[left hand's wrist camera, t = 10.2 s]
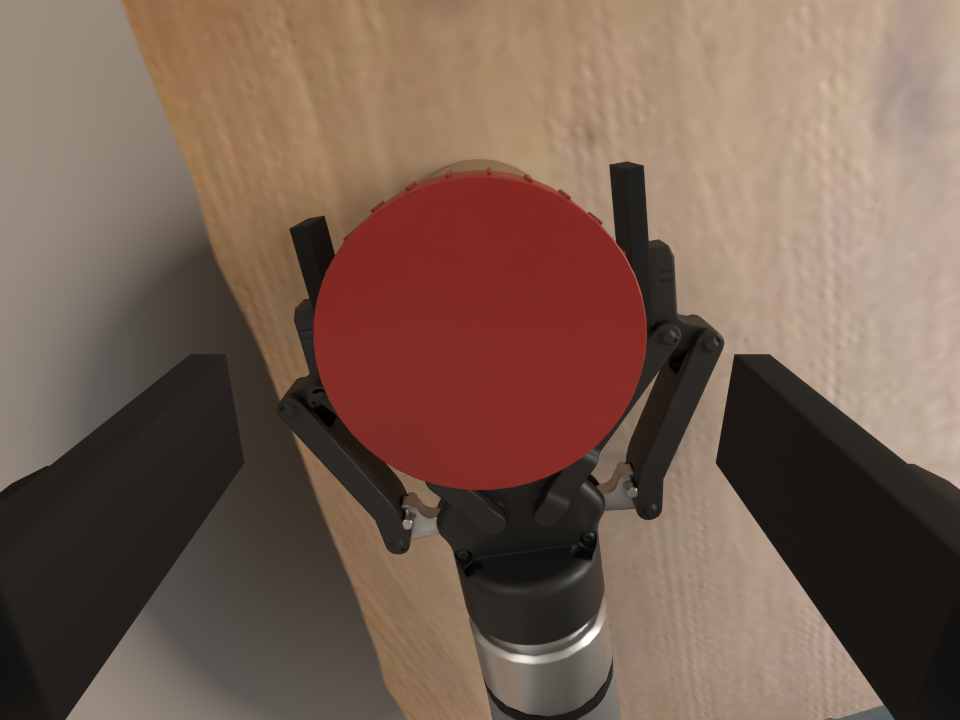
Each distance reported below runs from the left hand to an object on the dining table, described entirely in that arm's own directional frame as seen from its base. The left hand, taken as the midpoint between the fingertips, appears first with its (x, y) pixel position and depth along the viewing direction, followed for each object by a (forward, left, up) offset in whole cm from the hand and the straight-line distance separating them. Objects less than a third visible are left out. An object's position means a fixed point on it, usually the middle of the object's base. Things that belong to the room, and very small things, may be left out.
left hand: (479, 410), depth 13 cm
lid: (0, 0, -4) cm, 4 cm away
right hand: (-3, 0, -13) cm, 14 cm away
